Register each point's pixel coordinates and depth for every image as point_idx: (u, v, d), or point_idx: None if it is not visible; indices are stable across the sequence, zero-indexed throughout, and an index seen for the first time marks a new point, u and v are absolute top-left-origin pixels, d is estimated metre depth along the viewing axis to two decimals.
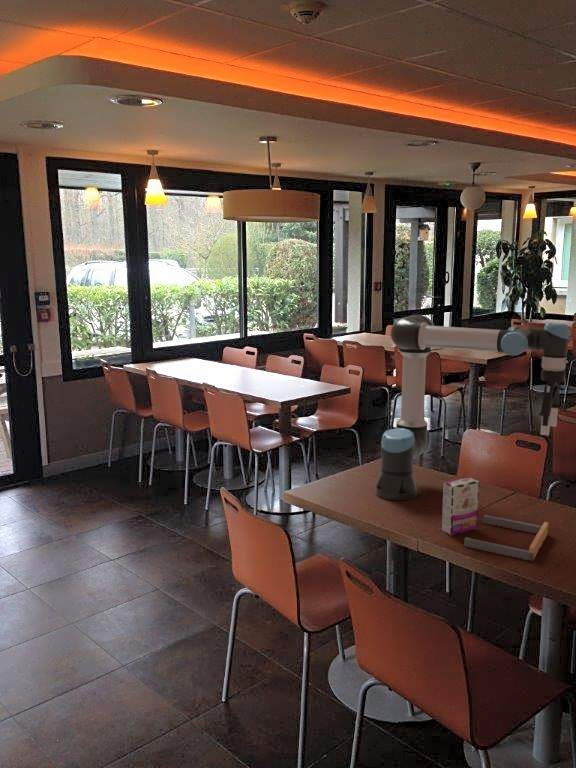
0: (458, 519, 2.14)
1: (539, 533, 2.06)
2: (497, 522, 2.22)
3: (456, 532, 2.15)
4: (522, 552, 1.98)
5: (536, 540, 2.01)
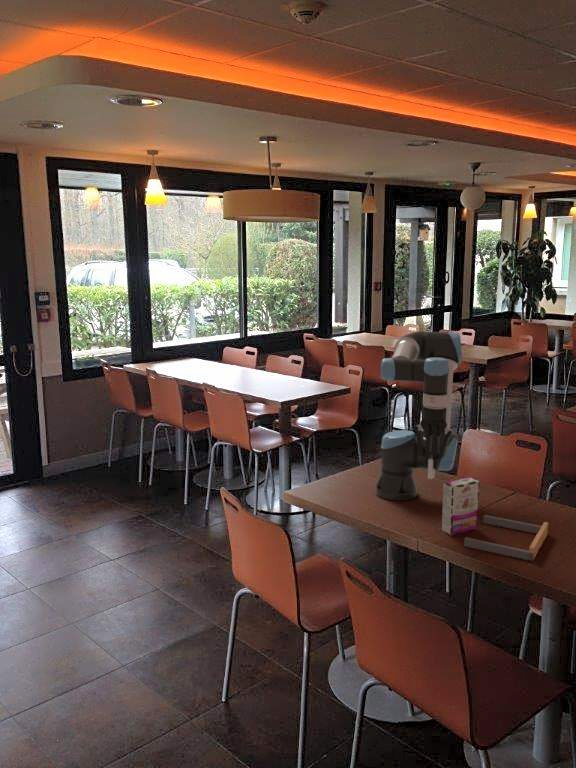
0: (458, 519, 2.14)
1: (539, 533, 2.06)
2: (497, 522, 2.22)
3: (456, 532, 2.15)
4: (522, 552, 1.98)
5: (536, 540, 2.01)
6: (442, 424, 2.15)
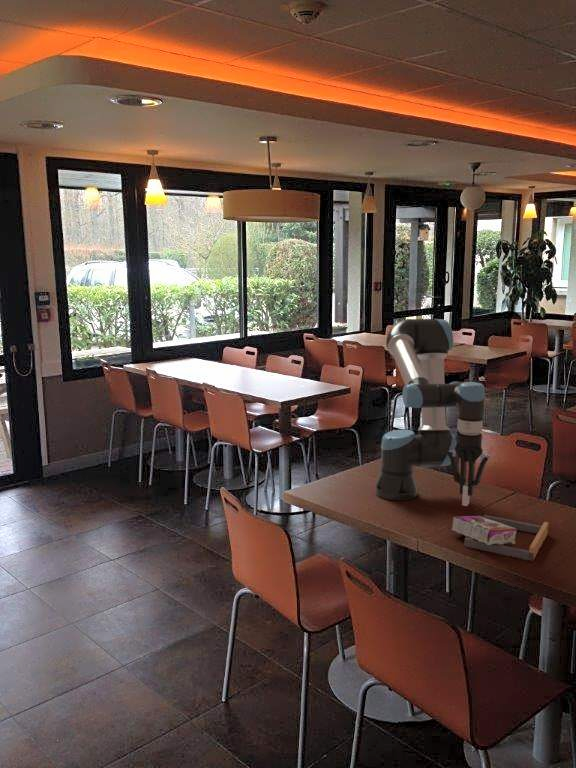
0: None
1: (539, 533, 2.06)
2: None
3: None
4: (522, 552, 1.98)
5: (536, 540, 2.01)
6: (477, 450, 2.10)
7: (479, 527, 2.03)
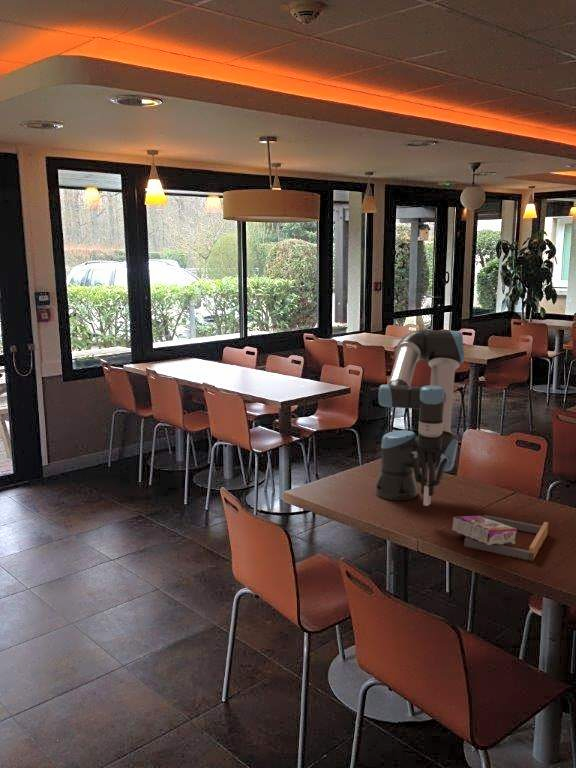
0: None
1: (539, 533, 2.06)
2: None
3: None
4: (522, 552, 1.98)
5: (536, 540, 2.01)
6: (438, 452, 2.17)
7: (479, 527, 2.03)
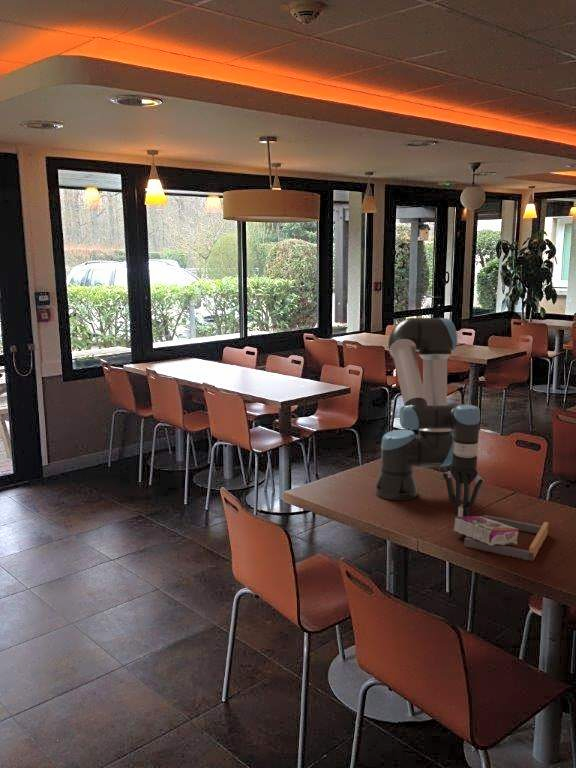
0: None
1: (539, 533, 2.06)
2: None
3: None
4: (522, 552, 1.98)
5: (536, 540, 2.01)
6: (473, 472, 2.12)
7: (481, 527, 2.03)
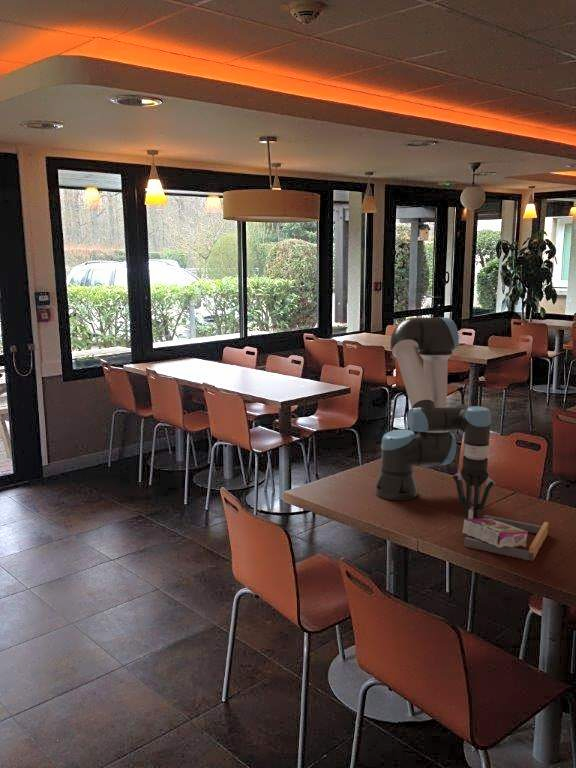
0: None
1: (539, 533, 2.06)
2: None
3: None
4: (522, 552, 1.98)
5: (536, 540, 2.01)
6: (483, 475, 2.10)
7: (489, 529, 2.01)
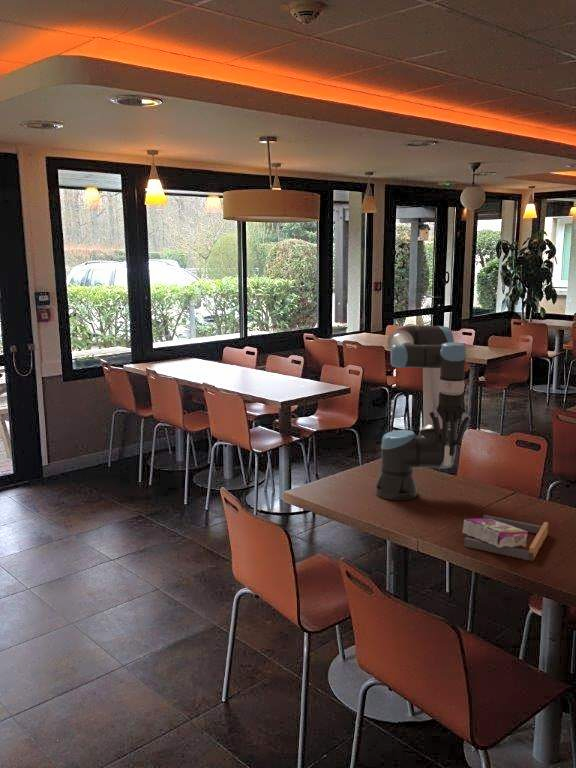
0: None
1: (539, 533, 2.06)
2: None
3: None
4: (522, 552, 1.98)
5: (536, 540, 2.01)
6: (459, 410, 2.11)
7: (489, 529, 2.01)
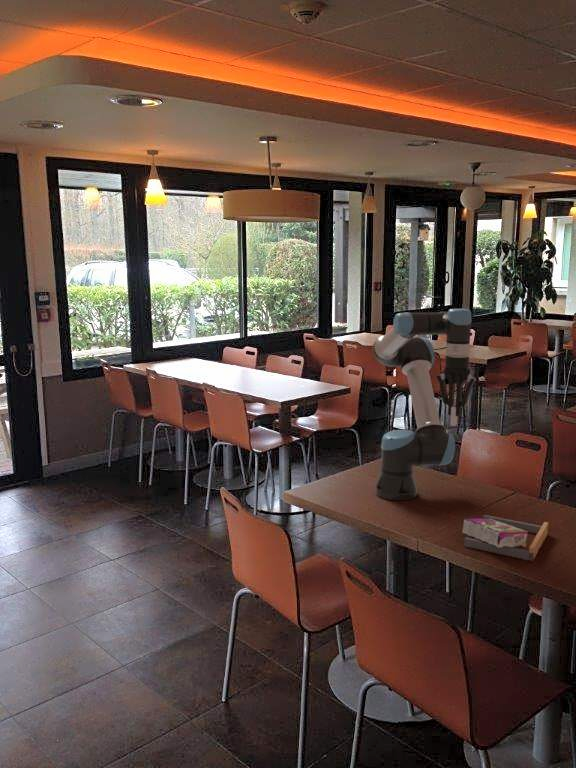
0: None
1: (539, 533, 2.06)
2: None
3: None
4: (522, 552, 1.98)
5: (536, 540, 2.01)
6: (465, 372, 2.24)
7: (489, 529, 2.01)
